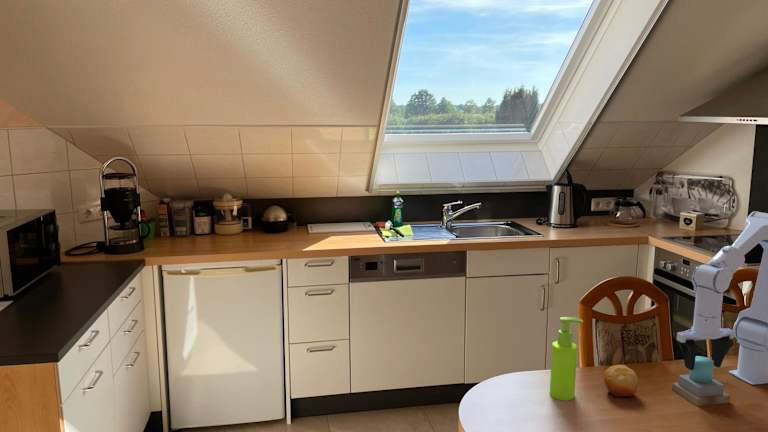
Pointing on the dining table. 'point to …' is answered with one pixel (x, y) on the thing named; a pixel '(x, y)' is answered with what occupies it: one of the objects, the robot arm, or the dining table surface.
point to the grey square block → (701, 386)
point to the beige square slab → (701, 400)
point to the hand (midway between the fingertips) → (702, 367)
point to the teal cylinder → (702, 370)
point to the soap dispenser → (564, 362)
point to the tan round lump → (621, 380)
